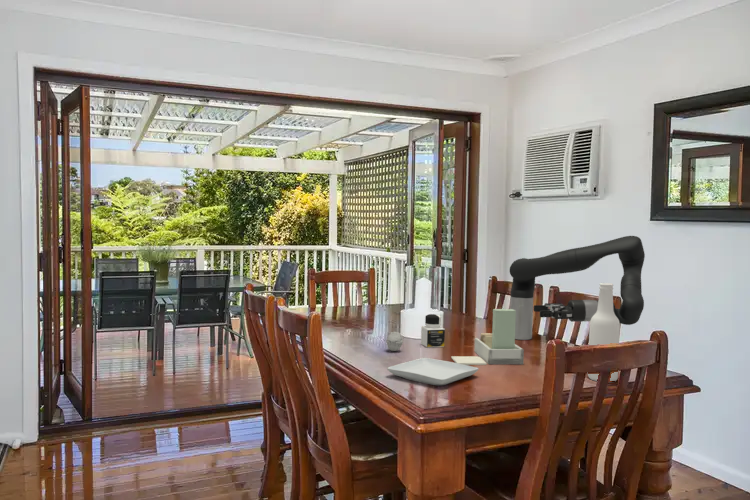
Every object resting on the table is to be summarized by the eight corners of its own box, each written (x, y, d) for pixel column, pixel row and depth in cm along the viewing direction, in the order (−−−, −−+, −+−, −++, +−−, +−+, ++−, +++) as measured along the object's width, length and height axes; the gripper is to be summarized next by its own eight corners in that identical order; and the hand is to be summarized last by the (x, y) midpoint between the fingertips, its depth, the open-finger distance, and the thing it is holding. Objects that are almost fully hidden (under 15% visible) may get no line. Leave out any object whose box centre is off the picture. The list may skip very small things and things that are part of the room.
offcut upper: (480, 340, 224) (480, 333, 224) (500, 339, 225) (501, 333, 225) (486, 343, 218) (486, 336, 218) (507, 343, 219) (507, 336, 219)
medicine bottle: (427, 347, 230) (427, 316, 229) (420, 344, 237) (421, 313, 236) (444, 347, 232) (445, 316, 231) (437, 343, 239) (438, 313, 238)
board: (491, 354, 211) (493, 309, 210) (511, 354, 212) (512, 309, 211) (494, 356, 208) (495, 310, 207) (514, 357, 208) (515, 310, 207)
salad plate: (424, 366, 203) (424, 355, 202) (480, 377, 189) (480, 366, 189) (384, 378, 186) (384, 367, 186) (442, 391, 173) (443, 379, 173)
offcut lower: (480, 346, 224) (480, 339, 224) (501, 346, 225) (501, 340, 225) (484, 350, 218) (485, 343, 218) (506, 350, 219) (506, 343, 219)
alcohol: (610, 375, 194) (614, 282, 192) (622, 383, 185) (626, 285, 183) (583, 375, 193) (587, 281, 192) (594, 382, 184) (598, 284, 183)
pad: (451, 358, 213) (451, 356, 213) (479, 358, 214) (479, 356, 214) (457, 364, 204) (457, 363, 203) (486, 364, 204) (486, 363, 204)
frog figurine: (404, 349, 225) (404, 331, 225) (400, 353, 219) (400, 334, 218) (388, 348, 227) (389, 330, 227) (383, 352, 220) (384, 333, 220)
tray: (474, 351, 225) (474, 338, 225) (506, 351, 226) (506, 338, 226) (488, 364, 205) (489, 349, 205) (523, 364, 206) (523, 349, 206)
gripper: (589, 326, 205) (541, 326, 205) (576, 316, 219) (531, 316, 219) (590, 304, 204) (542, 305, 204) (577, 296, 218) (532, 296, 219)
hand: (536, 311), depth 212 cm, fingers open, 8 cm apart
